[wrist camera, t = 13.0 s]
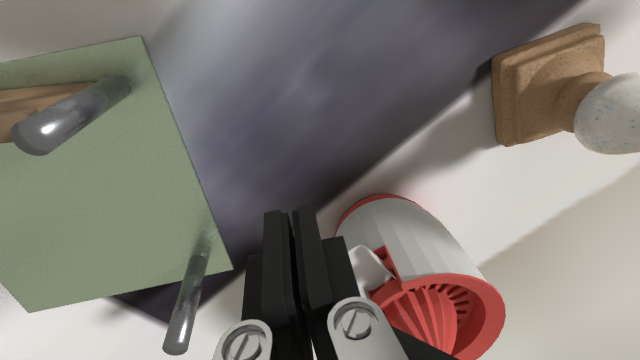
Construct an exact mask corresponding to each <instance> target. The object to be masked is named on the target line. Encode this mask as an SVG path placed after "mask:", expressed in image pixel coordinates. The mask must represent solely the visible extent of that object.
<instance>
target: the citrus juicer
mask: <svg viewBox="0 0 640 360" xmlns="http://www.w3.org/2000/svg"><path fill="white" fill-rule="evenodd" d="M342 235H343V237H344V240H345V244H346V247H347V251H348V254H349V257H350V261H351V264H352V268H353V271H354V274H355V278H356V281H357V285H358V288H359V292H360V295H361V297H364V298H367V299H370V300H372V301H373V302H375V303H376V304H377V305H378V306H379V307H380V309H381V310H382V312H383V313H384V315H385V317H386V319H387V321H388V323H389V324H390V325H392V326H394V327H396V328H398V329H400V330H402V331H404V332H406V333H408V334H410V335H412V336H414V337H416V338H418V339H420V340H422V341H424V342H426V343H428V344H430V345H432V346H434V347H436V348H438V349H440V350H442V351H444V352H446V353H448V354H450V355H452V356H454V357H456V358H458V359H460V360H476V359H478V358H479V357H480V356H482V355H483V354H484V353H485V352H486V351H487V350H488V349H489V348H490V347H491V346H492V344H493V343H494V342H495V340H496V339H497V338H498V336H499V334H500V332H501V330H502V328H503V326H504V321H505V317H506V316H505V304H504V302H503V299H502V297H501V295H500V293H499V292H498V291H497V290H496V289H495V288H494V286H492V285H491V284H489V283H488V282H487V281H486V280H485V278H484V277H483V276H482V275H481V273H480V272H479V271H478V269H477V268H476V266H475V265H474V264H473V262H472V261H471V260H470V258H469V257H468V256H467V254H466V253H465V251H464V250H463V249H462V247H461V246H460V245H459V243H458V242H457V241H456V239H455V238H454V237H453V236H452V235H451V234H450V232H449V231H448V230H447V229H446V228H445V227H444V225H443V224H442V223H441V222H440V221H439V220H438V219H436V218H435V217H434V216H433V215H432V214H430V213H429V212H428V211H426V210H425V209H423V208H422V207H421V206H419V205H418V204H416V203H415V202H413V201H411V200H408V199H406V198H403V197H400V196H397V195H392V194H380V195H374V196H371V197H368V198H365V199H363V200H361V201H359V202H357V203H356V204H354V205H353V206H352V207H351V208H349V210H348V211H347V212H346V213H345V214H344V215H343V217H342V219H341V220H340V222H339V225H338V228H337V230H336V233H335V236H334V237H338V236H342Z"/></svg>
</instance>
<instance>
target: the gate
mask: <svg viewBox="0 0 640 360" xmlns="http://www.w3.org/2000/svg"><path fill="white" fill-rule="evenodd" d="M94 83H95V82H87V83H76V84H65V85H54V86H43V87H32V88H20V89H9V90H0V144H1V143H11V142H13V140H12V138H11V128H12V127H13V125H14V124H16V123H17V122H19V121H21V120H23V119H25V118H27V117H29V116H31V115H33V114H35V113H37V112H39V111H41V110H43V109H45V108H47V107H49V106H51V105H53V104H55V103H57V102H58V101H60V100H62V99H64V98H66V97H68V96H70V95H72V94H74V93H76V92H78V91H80V90H82V89H84V88H86V87H88V86H90V85H92V84H94Z"/></svg>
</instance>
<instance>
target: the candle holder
mask: <svg viewBox="0 0 640 360" xmlns="http://www.w3.org/2000/svg"><path fill="white" fill-rule="evenodd" d="M604 55H605V41H604V38H603V35H600V24H592V23H582V24H578V25H575V26H572V27H569V28H567V29H564V30H561V31H559V32H556V33H553V34H550V35H548V36H545V37H542V38H540V39H537V40H534V41H532V42H529V43H526V44H524V45H521V46H518V47H516V48H513V49H510V50H508V51H505V52H503V53H501V54H498V55H496V56H494V57H493V58H492V59H491V81H492V94H493V107H494V120H495V132H496V139H497V141H498V142H499V143H501V144H502V145H504V146H505V147H510V146H513V145H516V144H522V143H527V142H531V141H535V140H538V139H541V138H544V137H547V136H550V135H553V134H555V133H558V132H561V131H564V130H565V131H567V132H571V133H575V136H576V138H577V140H578V141H579V142H580V143H581V145H582V146H584V147H585V148H587V149H589V150H591V151H593V152H596V153H600V154H607V155H621V154H629V153H637V152H640V73H625V74H620V75H616V76H614V77H613V76H611V75H610V74H608V73H605V72H603V69H604Z"/></svg>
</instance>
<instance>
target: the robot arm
mask: <svg viewBox="0 0 640 360" xmlns="http://www.w3.org/2000/svg"><path fill="white" fill-rule="evenodd" d="M297 207H298V210H296V211H292V216H293V227H294V235H293V231H292V227H291V223H290V219H289V216H288V213H287V212H286V213H282V212H281V210H275V211H270V212H266V213H264V233H263V253H258V254H253V255H249V256H248V257H247V265H246V276H245V286H244V297H243V308H242V319H241V322H239V323H237V324H235V325H233V326H232V327H231V328H229V329H228V330H227V331H226V332H225V333H224V334H223V336H222V337H221V338H220V340H219V342H218V344H217V346H216V350H215V353H214V356H213V359H212V360H314V359H313V350H312V343H313V346H314V350H315V353H316V357H317V360H460V359H458V358H456V357H454V356H452V355H450V354H448V353H446V352H444V351H442V350H440V349H438V348H436V347H434V346H432V345H430V344H428V343H426V342H424V341H422V340H420V339H418V338H416V337H414V336H412V335H410V334H408V333H406V332H404V331H402V330H400V329H398V328H396V327H394V326H392V325H390V324H389V323H388V321H387V319H386V317H385V315H384V313H383V312H382V310H381V309H380V307H379V306H378V305H377V304H376V303H375V302H373V301H372V300H370V299H367V298H364V297H361V295H360V292H359V288H358V285H357V281H356V278H355V274H354V271H353V268H352V264H351V261H350V257H349V254H348V251H347V247H346V244H345V240H344V237H343V235H342V236H338V237H333V238H328V239H324V240H321V238H320V233H319V229H318V224H317V219H316V214H315V210H314V205H313V203H309V204H304V205H299V206H297ZM311 339H312V341H311Z"/></svg>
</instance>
